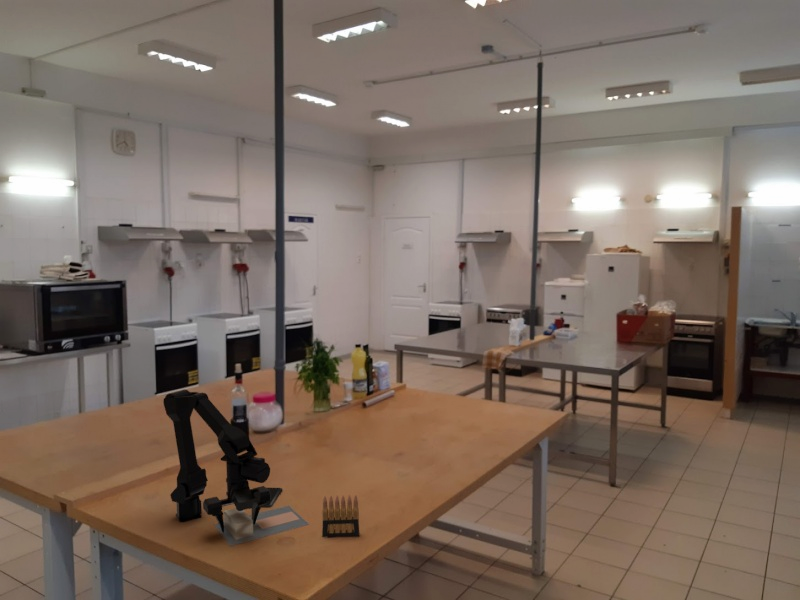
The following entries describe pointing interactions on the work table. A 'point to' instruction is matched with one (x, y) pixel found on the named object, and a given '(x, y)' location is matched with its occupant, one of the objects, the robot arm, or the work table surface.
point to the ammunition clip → (340, 518)
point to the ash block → (238, 523)
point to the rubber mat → (268, 524)
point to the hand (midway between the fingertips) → (238, 527)
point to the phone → (272, 497)
